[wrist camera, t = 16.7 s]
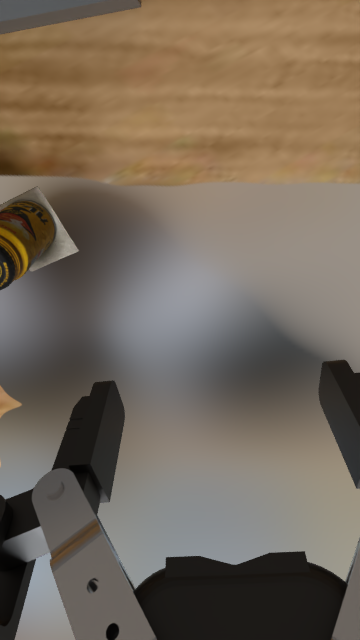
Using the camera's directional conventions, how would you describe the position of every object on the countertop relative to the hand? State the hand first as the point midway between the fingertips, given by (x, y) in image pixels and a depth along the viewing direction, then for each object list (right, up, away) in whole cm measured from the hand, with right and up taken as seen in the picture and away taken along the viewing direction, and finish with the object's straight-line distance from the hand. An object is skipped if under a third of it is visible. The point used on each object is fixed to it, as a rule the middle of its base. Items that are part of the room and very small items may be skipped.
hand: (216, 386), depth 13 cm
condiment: (-19, +14, +28) cm, 36 cm away
